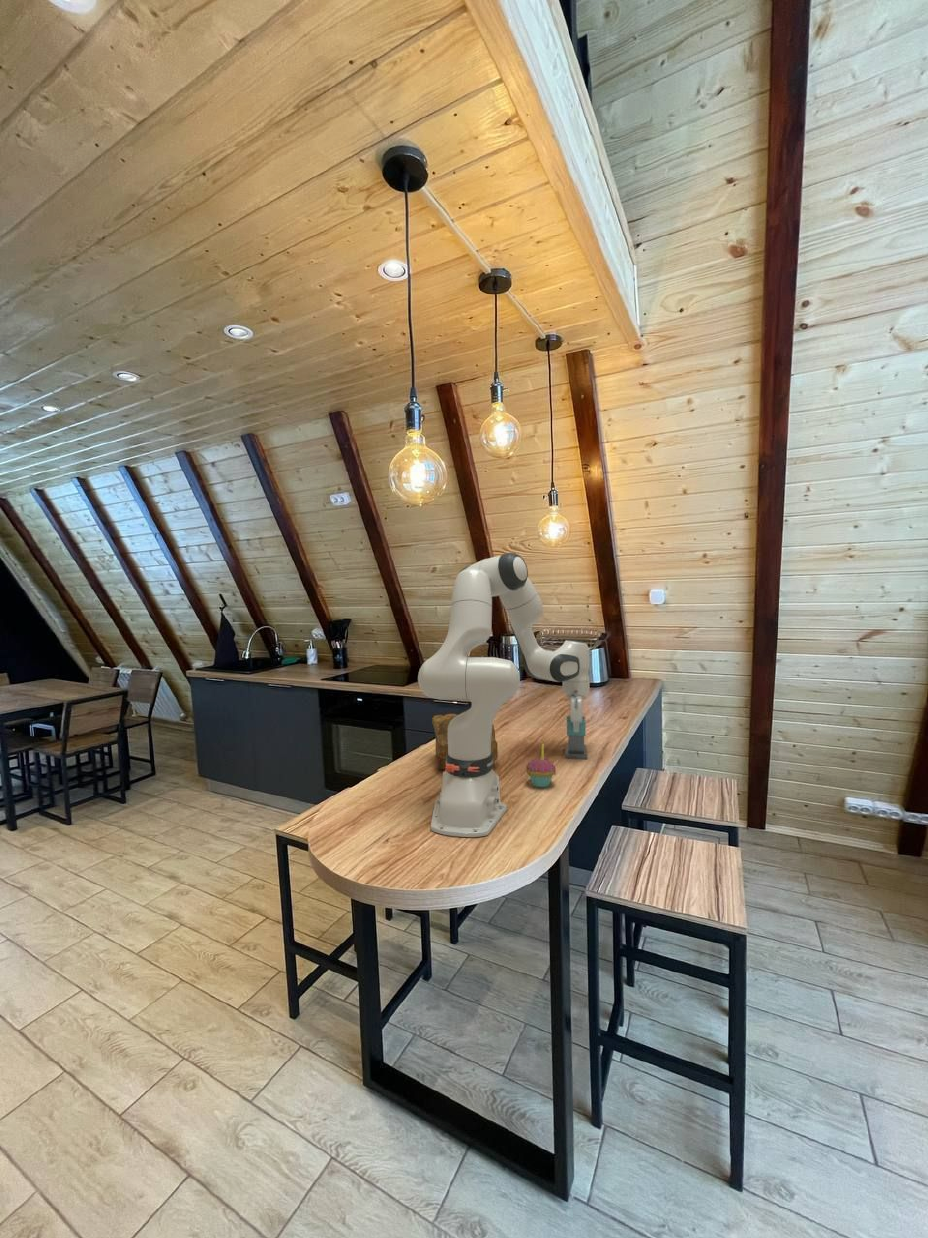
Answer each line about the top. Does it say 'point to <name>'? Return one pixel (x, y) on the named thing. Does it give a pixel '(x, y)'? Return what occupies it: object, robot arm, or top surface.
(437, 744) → the rough brown rock
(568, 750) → the grey pedestal stand
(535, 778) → the cupcake
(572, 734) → the teal hollow box
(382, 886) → the top surface
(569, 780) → the top surface
